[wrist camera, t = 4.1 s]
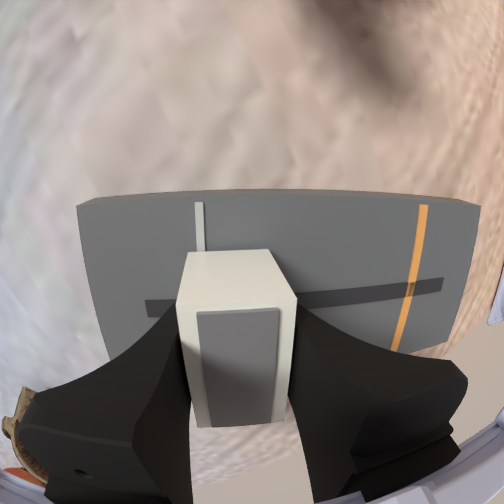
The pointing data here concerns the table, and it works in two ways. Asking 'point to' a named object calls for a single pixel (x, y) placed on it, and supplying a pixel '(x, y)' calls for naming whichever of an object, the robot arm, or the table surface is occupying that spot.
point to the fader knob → (236, 336)
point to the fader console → (287, 256)
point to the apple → (24, 475)
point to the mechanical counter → (11, 432)
